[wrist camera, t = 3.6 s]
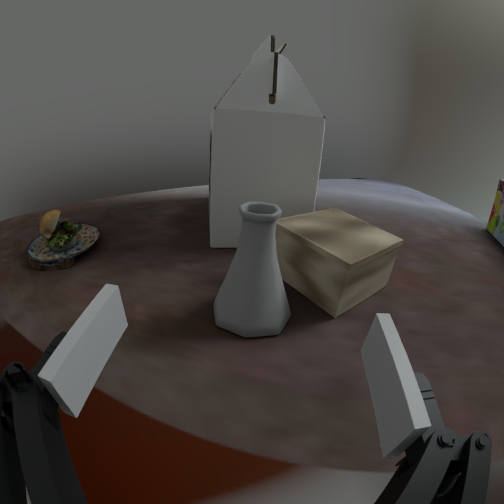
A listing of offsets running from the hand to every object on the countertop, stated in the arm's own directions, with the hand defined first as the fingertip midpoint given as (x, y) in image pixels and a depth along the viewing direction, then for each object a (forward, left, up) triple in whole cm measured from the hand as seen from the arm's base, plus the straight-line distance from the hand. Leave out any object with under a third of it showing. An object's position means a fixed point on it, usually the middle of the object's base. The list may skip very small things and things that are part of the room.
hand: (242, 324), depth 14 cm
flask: (+7, -6, -8) cm, 12 cm away
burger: (+30, +10, -8) cm, 33 cm away
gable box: (+27, -20, -8) cm, 34 cm away
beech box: (+7, -17, -7) cm, 20 cm away
